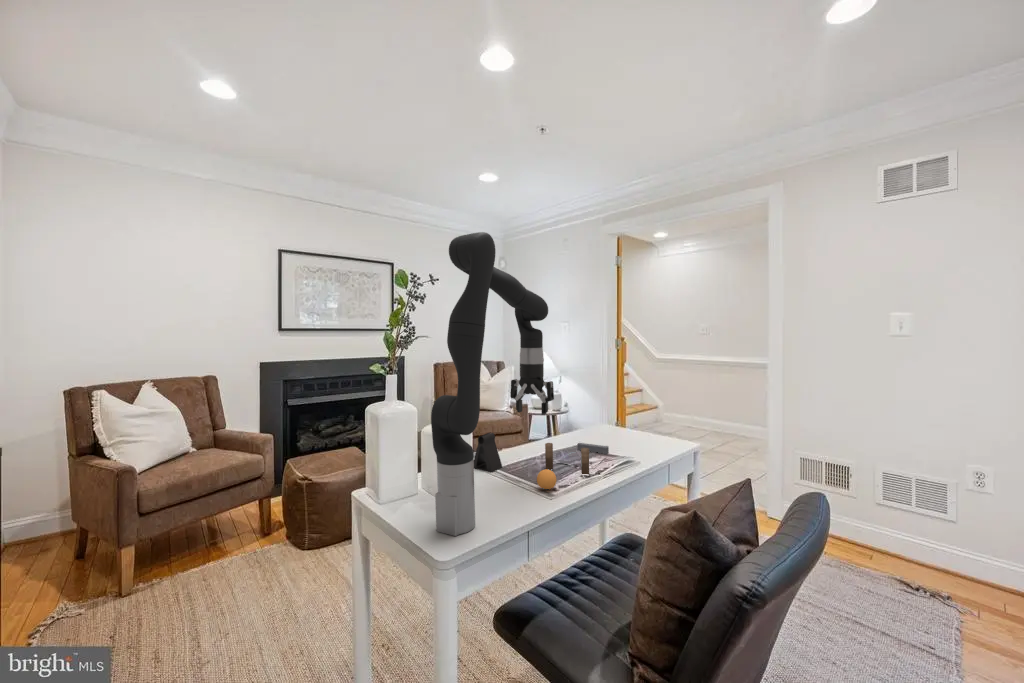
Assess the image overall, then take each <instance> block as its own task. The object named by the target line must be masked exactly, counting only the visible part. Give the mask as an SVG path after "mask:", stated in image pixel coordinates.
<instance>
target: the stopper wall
mask: <svg viewBox="0 0 1024 683" xmlns="http://www.w3.org/2000/svg"><path fill="white" fill-rule="evenodd" d="M576 448H577V451H580V450H581V448H589V451H591V452H590V453H594V452H598V453H597V454H601V453H603V455H608V454H609V446H608V445H599V444H593V443H585V442H577V447H576Z"/></svg>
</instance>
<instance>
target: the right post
mask: <svg viewBox="0 0 1024 683" xmlns="http://www.w3.org/2000/svg"><path fill="white" fill-rule="evenodd" d="M580 453H581V467H580V470H581V471H580V472H581V473H582V474H589V475H590V469H589V455H590V452H589V448H581V451H580Z"/></svg>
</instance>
